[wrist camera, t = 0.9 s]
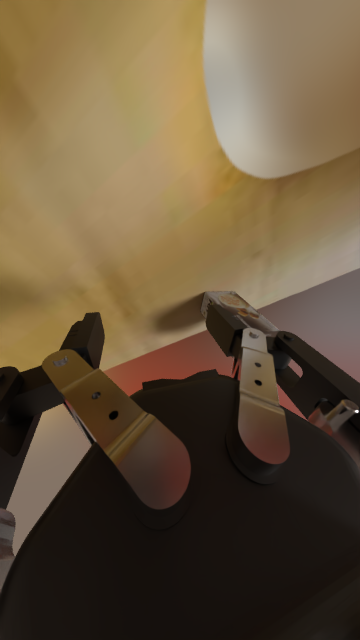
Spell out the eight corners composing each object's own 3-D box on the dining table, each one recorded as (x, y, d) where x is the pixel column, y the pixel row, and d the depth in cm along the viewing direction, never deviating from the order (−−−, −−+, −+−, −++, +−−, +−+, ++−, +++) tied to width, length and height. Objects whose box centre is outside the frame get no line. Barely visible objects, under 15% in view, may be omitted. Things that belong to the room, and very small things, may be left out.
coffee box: (199, 312, 43) (230, 358, 31) (204, 291, 39) (241, 334, 28) (228, 310, 46) (266, 352, 34) (236, 290, 42) (282, 330, 30)
